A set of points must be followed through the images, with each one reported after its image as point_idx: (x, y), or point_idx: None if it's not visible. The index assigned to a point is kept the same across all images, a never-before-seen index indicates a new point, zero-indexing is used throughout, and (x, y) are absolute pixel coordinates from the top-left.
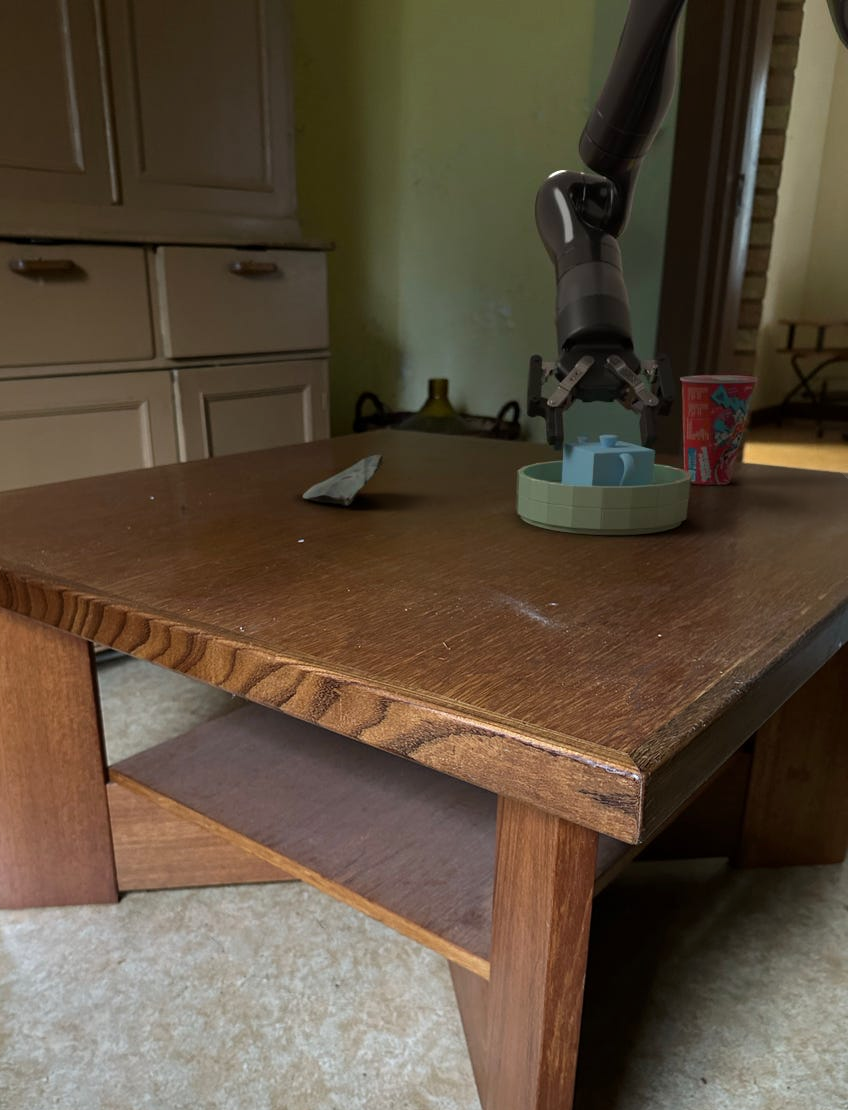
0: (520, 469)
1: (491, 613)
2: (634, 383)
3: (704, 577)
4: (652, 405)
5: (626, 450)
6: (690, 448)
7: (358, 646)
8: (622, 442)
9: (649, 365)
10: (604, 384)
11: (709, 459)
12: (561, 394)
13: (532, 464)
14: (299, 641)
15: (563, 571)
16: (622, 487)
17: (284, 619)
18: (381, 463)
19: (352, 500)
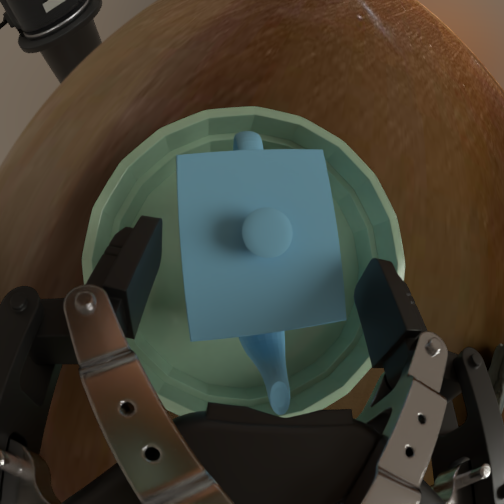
0: None
1: (391, 22)
2: (126, 372)
3: (237, 19)
4: (94, 286)
5: (242, 164)
6: None
7: (433, 24)
8: (196, 311)
9: (20, 499)
10: (268, 430)
11: None
12: (424, 372)
13: (359, 379)
14: (454, 39)
15: (348, 56)
16: (271, 110)
17: (469, 63)
18: None
19: (489, 371)
